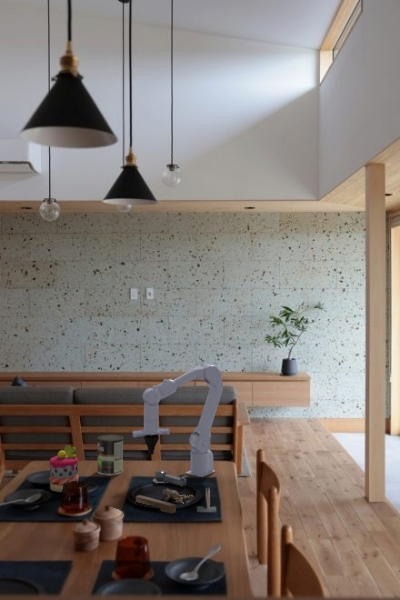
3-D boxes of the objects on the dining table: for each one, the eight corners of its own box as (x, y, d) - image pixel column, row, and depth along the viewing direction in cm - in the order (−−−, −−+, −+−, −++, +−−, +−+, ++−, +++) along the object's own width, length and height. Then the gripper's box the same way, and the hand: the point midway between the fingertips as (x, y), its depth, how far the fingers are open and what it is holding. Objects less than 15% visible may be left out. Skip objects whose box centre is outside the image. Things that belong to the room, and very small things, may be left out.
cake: (71, 493, 240) (71, 452, 240) (44, 491, 242) (44, 450, 242) (82, 484, 250) (82, 445, 250) (56, 482, 253) (56, 443, 252)
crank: (153, 479, 255) (153, 468, 255) (161, 476, 258) (161, 466, 258) (180, 487, 246) (180, 476, 245) (188, 484, 249) (188, 473, 249)
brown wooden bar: (139, 502, 231) (139, 495, 231) (175, 512, 222) (175, 504, 222) (135, 503, 229) (135, 496, 229) (171, 513, 220) (171, 506, 220)
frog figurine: (154, 504, 230) (154, 493, 230) (168, 493, 242) (168, 483, 242) (185, 508, 227) (185, 497, 226) (197, 497, 238) (197, 487, 238)
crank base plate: (159, 477, 259) (159, 476, 259) (172, 480, 256) (172, 479, 256) (149, 481, 254) (149, 480, 254) (162, 484, 251) (162, 483, 251)
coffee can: (101, 476, 260) (101, 441, 259) (94, 469, 269) (94, 435, 269) (126, 473, 264) (126, 438, 264) (118, 467, 273) (118, 433, 273)
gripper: (136, 422, 252) (135, 458, 253) (172, 420, 257) (171, 454, 258) (131, 419, 259) (131, 453, 259) (166, 416, 264) (166, 450, 264)
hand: (151, 453), depth 259 cm, fingers closed
